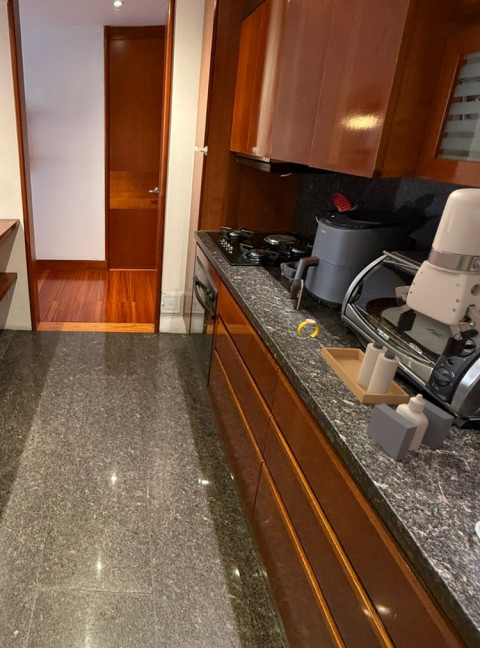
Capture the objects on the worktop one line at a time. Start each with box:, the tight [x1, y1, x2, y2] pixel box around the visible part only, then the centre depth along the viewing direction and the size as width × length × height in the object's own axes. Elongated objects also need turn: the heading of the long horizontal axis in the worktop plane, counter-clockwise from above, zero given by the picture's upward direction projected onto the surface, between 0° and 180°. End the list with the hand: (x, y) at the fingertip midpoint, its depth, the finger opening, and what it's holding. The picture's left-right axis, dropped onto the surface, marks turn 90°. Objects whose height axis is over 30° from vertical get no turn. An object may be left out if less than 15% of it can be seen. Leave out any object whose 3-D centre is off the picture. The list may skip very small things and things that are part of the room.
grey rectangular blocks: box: [365, 397, 455, 461], centre depth 80 cm, size 12×7×8 cm, turn 105°
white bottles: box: [357, 341, 400, 394], centre depth 94 cm, size 8×4×12 cm, turn 176°
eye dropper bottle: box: [395, 393, 428, 452], centre depth 79 cm, size 4×6×12 cm
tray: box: [320, 347, 411, 406], centre depth 101 cm, size 21×10×3 cm, turn 176°
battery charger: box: [289, 278, 306, 314], centre depth 138 cm, size 7×4×11 cm, turn 155°
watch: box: [297, 318, 320, 338], centre depth 121 cm, size 6×3×6 cm, turn 87°
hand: (425, 342), depth 76 cm, fingers open, 9 cm apart
